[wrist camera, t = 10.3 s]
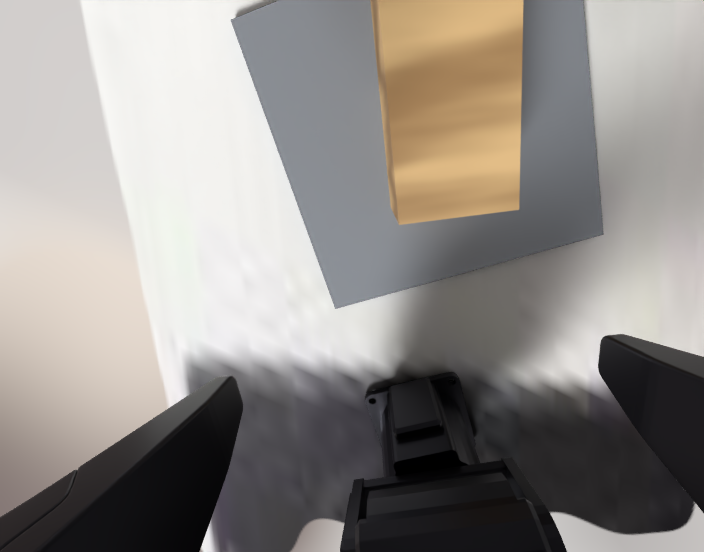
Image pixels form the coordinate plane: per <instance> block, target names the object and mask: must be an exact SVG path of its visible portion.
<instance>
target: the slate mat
mask: <svg viewBox="0 0 704 552" xmlns="http://www.w3.org/2000/svg"><path fill="white" fill-rule="evenodd" d="M231 22H232V25H233V28H234V31H235V33H236V36H237V39H238V42H239V44H240V47H241V50H242V53H243V55H244V58H245V61H246V64H247V66H248V69H249V72H250V75H251V77H252V80H253V83H254V86H255V88H256V91H257V94H258V97H259V100H260V102H261V105H262V108H263V111H264V113H265V116H266V119H267V122H268V124H269V127H270V130H271V133H272V135H273V138H274V141H275V144H276V146H277V149H278V152H279V155H280V157H281V160H282V163H283V166H284V168H285V171H286V174H287V177H288V179H289V182H290V185H291V188H292V191H293V193H294V196H295V199H296V202H297V204H298V207H299V210H300V213H301V215H302V218H303V221H304V224H305V226H306V229H307V232H308V235H309V237H310V240H311V243H312V246H313V248H314V251H315V254H316V257H317V259H318V262H319V265H320V268H321V271H322V273H323V276H324V279H325V282H326V284H327V287H328V290H329V293H330V295H331V298H332V301H333V304H334V306H335V309H337V308H340V307H344V306H348V305H351V304H355V303H358V302H362V301H366V300H369V299H373V298H376V297H380V296H384V295H387V294H391V293H394V292H398V291H402V290H405V289H409V288H412V287H416V286H420V285H423V284H427V283H430V282H434V281H438V280H441V279H445V278H448V277H452V276H456V275H459V274H463V273H466V272H470V271H474V270H477V269H481V268H484V267H488V266H492V265H495V264H499V263H502V262H506V261H509V260H513V259H517V258H520V257H524V256H527V255H531V254H535V253H538V252H542V251H545V250H549V249H553V248H556V247H560V246H563V245H567V244H571V243H574V242H578V241H581V240H585V239H589V238H592V237H596V236H599V235H603V223H602V211H601V200H600V188H599V177H598V165H597V154H596V142H595V131H594V119H593V108H592V97H591V85H590V74H589V62H588V51H587V39H586V28H585V16H584V5H583V0H524V1H523V50H522V98H521V146H520V194H519V210H513V211H505V212H497V213H489V214H481V215H474V216H466V217H458V218H450V219H442V220H434V221H426V222H418V223H411V224H403V225H399V224H398V222H397V219H396V217H395V215H394V213H393V211H392V209H391V205H390V195H389V185H388V175H387V165H386V155H385V144H384V134H383V124H382V114H381V104H380V94H379V83H378V73H377V63H376V53H375V43H374V33H373V22H372V12H371V2H370V0H278V1H276V2H273V3H271V4H268V5H266V6H263V7H261V8H259V9H256V10H254V11H251V12H249V13H246V14H244V15H241V16H239V17H236V18H234V19H231Z"/></svg>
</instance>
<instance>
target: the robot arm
mask: <svg viewBox="0 0 704 552" xmlns="http://www.w3.org/2000/svg"><path fill="white" fill-rule="evenodd" d="M598 368H599V373H600V375H601V377H602V379H603V380H604V382H605V383H606V385H607V386H608V388H609V389H610V391H611V392H612V394H613V395H614V397H615V398H616V400H617V401H618V403H619V404H620V406H621V407H622V409H623V410H624V412H625V413H626V415H627V416H628V418H629V419H630V421H631V422H632V424H633V425H634V426H635V428H636V429H637V431H638V432H639V433H640V435H641V436H642V437H643V439H644V440H645V441H646V443H647V444H648V445H649V446H650V448H651V449H652V450H653V451H654V452H655V454H656V455H657V456H658V457H659V459H660V460H661V461H662V462H663V464H664V465H665V466H666V467H667V468H668V470H669V471H670V472H671V473H672V475H673V476H674V477H675V478H676V480H677V481H678V482H679V483H680V484H681V486H682V487H683V488H684V489H685V491H686V492H687V493H688V494H689V495H690V497H691V498H692V499H693V500H694V502H695V503H696V504H697V505H698V507H699V508H700V509H701V510H702V511H703V513H704V357H702V356H698V355H695V354H691V353H688V352H684V351H681V350H677V349H674V348H670V347H667V346H663V345H660V344H656V343H653V342H649V341H646V340H642V339H639V338H635V337H632V336H628V335H624V334H617V335H608V336H605V337H603V338H602V340H601V344H600V354H599V363H598ZM450 379H454V380H453V381H452V382H449V380H450ZM371 398H374V399H375V400H370V399H371ZM365 403H366V406H367V409H368V411H369V414H370V417H371V420H372V422H373V425H374V428H375V430H376V433H377V436H378V439H379V441H380V444H381V447H382V456H383V473H384V478H377V479H370V480H364V479H356V480H354V483H353V489H352V493H350V497H349V503H348V508H347V513H346V519H345V524H344V530H343V535H342V541H341V547H340V552H567V551H566V548H565V546H564V543H563V541H562V538H561V536H560V533H559V531H558V529H557V527H556V524H555V522H554V520H553V518H552V516H551V515H550V513H549V511H548V509H547V508H546V506H545V504H544V503H543V502H542V500H541V499H540V497H539V496H538V494H537V493H536V491H535V490H534V488H533V487H532V485H531V484H530V482H529V481H528V480H527V478H526V477H525V475H524V474H523V472H522V471H521V469H520V468H519V466H518V465H517V463H516V462H515V461H514V459H513V458H512V457H506V458H501V460H500V461H493V462H486V463H480V461H479V458H478V456H477V453H476V450H475V448H474V447H475V445H476V443H475V439H474V435H473V431H472V427H471V424H470V420H469V416H468V412H467V408H466V404H465V400H464V396H463V392H462V388H461V385H460V381H459V378H458V376H457V374H455V373H453V372H449V373H445V374H440V375H436V376H432V377H428V378H422V379H418V380H414V381H410V382H406V383H402V384H398V385H394V386H391V387H387V388H383V389H379V390H374V391H370V392H368V393H367V394H366V395H365ZM242 411H243V402H242V398H241V394H240V391H239V388H238V384H237V381H236V379H235V377H234V376H232V375H227V376H219V377H216V378H214V379H213V380H211V381H210V382H208V383H207V384H205V385H204V386H202V387H201V388H199V389H198V390H196V391H194V392H193V393H191V394H190V395H188V396H187V397H185V398H184V399H182V400H181V401H179V402H178V403H176V404H175V405H173V406H172V407H170V408H169V409H167V410H165V411H164V412H162V413H161V414H160V415H158V416H156V417H155V418H153V419H152V420H150V421H149V422H147V423H146V424H144V425H143V426H141V427H140V428H138V429H136V430H135V431H133V432H132V433H130V434H129V435H127V436H126V437H124V438H123V439H121V440H120V441H118V442H117V443H115V444H114V445H112V446H111V447H109V448H108V449H106V450H105V451H103V452H102V453H100V454H98V455H97V456H95V457H94V458H92V459H91V460H89V461H88V462H86V463H85V464H83V465H82V466H80V467H79V468H78V470H74V471H72V472H71V473H69V474H68V475H66V476H65V477H63V478H62V479H60V480H59V481H57V482H55V483H54V484H52V485H51V486H49V487H48V488H46V489H44V490H43V491H42V492H40V493H38V494H37V495H35V496H34V497H32V498H31V499H29V500H27V501H26V502H24V503H23V504H21V505H19V506H18V507H16V508H14V509H13V510H11V511H9V512H8V513H6V514H4V515H3V516H1V517H0V552H199V551H200V548H201V546H202V543H203V540H204V537H205V534H206V531H207V529H208V526H209V523H210V520H211V517H212V514H213V512H214V509H215V506H216V503H217V500H218V498H219V495H220V492H221V489H222V486H223V483H224V481H225V478H226V475H227V472H228V469H229V465H230V461H231V457H232V453H233V449H234V445H235V441H236V437H237V432H238V428H239V424H240V420H241V416H242Z"/></svg>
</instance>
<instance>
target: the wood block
mask: <svg viewBox="0 0 704 552" xmlns="http://www.w3.org/2000/svg"><path fill="white" fill-rule="evenodd" d="M523 1H524V0H370V2H371V12H372V22H373V33H374V43H375V53H376V63H377V73H378V83H379V94H380V104H381V114H382V124H383V134H384V144H385V155H386V165H387V175H388V185H389V195H390V205H391V209H392V211H393V213H394V215H395V217H396V219H397V222H398V224H399V225H403V224H411V223H418V222H426V221H434V220H442V219H450V218H458V217H466V216H474V215H481V214H489V213H497V212H505V211H513V210H519V194H520V146H521V98H522V50H523Z"/></svg>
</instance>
